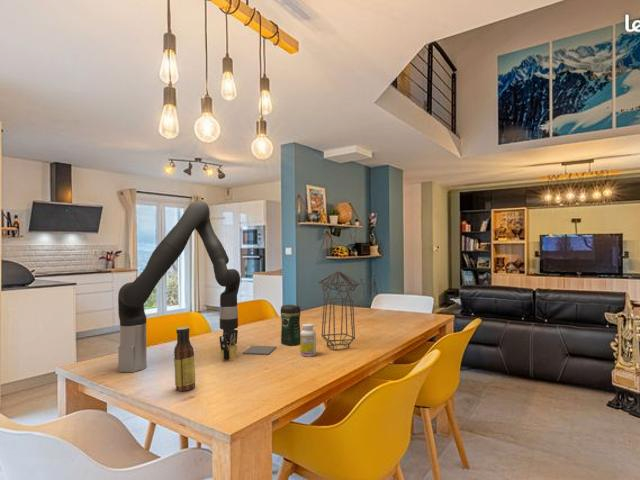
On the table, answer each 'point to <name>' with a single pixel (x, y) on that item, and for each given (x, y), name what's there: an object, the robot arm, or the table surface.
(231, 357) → the cube
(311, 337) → the supplement bottle
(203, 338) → the table surface
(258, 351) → the coaster
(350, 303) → the geometric lantern
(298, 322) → the coffee jar
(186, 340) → the sauce bottle
